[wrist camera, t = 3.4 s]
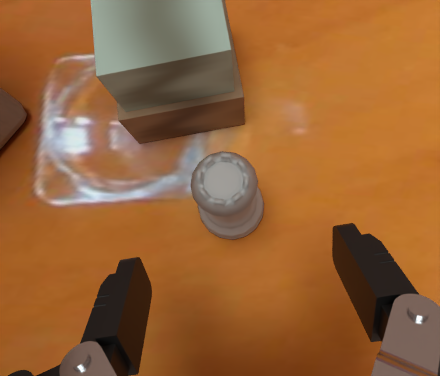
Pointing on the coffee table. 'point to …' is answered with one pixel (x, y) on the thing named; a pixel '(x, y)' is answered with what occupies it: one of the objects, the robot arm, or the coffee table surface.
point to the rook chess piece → (227, 195)
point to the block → (9, 116)
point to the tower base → (168, 65)
